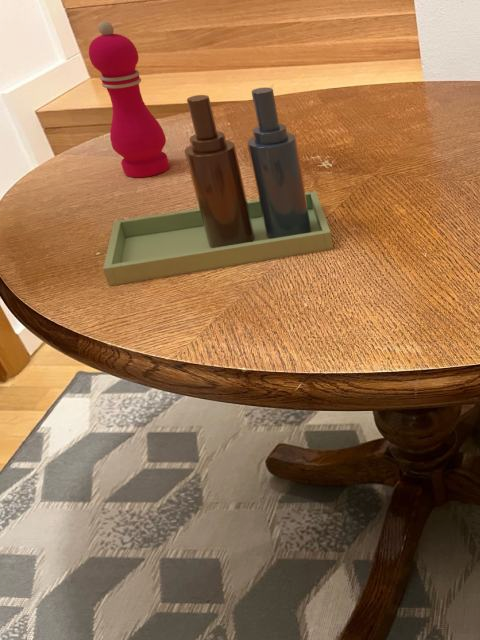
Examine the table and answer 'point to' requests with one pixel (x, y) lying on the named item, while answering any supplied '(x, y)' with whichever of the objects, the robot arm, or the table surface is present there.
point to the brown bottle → (217, 179)
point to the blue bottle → (277, 171)
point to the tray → (200, 244)
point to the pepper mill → (128, 105)
